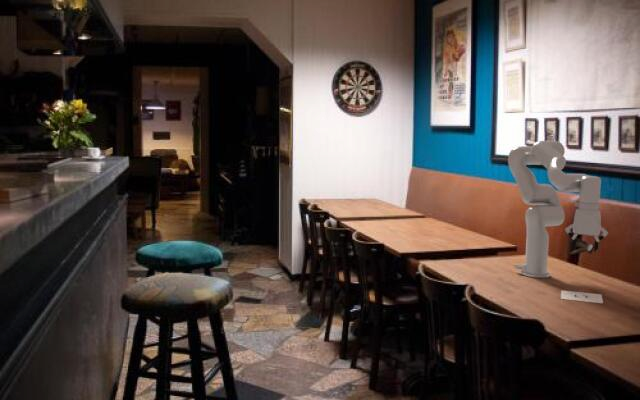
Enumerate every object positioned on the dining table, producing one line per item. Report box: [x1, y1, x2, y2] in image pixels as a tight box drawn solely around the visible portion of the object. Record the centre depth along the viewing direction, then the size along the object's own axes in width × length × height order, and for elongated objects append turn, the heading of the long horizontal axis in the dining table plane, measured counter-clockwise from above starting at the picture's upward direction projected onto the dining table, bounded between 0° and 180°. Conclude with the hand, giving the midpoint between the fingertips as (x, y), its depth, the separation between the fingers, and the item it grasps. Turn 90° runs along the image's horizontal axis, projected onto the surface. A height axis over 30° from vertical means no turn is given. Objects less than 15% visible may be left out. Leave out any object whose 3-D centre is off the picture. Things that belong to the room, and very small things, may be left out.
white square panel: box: [560, 289, 604, 304], centre depth 249 cm, size 15×14×1 cm
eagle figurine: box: [568, 237, 595, 257], centre depth 258 cm, size 8×7×9 cm
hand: (584, 249), depth 257 cm, fingers closed on eagle figurine, 7 cm apart
